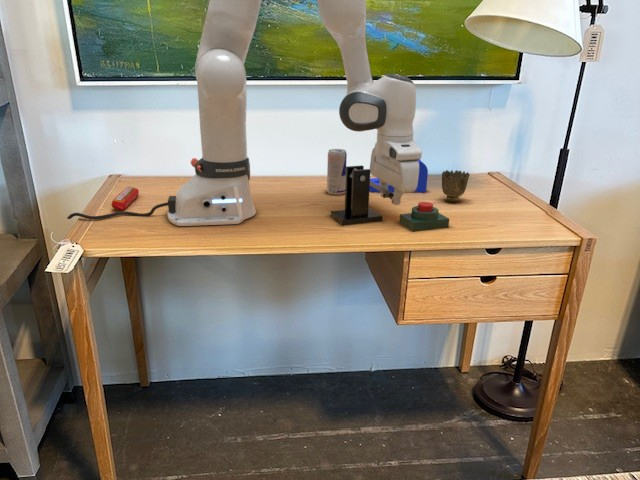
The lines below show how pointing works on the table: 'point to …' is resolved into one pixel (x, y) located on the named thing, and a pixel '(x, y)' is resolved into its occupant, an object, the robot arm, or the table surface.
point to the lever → (379, 188)
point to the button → (425, 207)
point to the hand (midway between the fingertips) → (390, 200)
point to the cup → (454, 184)
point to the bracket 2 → (421, 180)
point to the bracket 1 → (356, 199)
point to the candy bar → (125, 198)
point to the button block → (424, 220)
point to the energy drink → (336, 171)
